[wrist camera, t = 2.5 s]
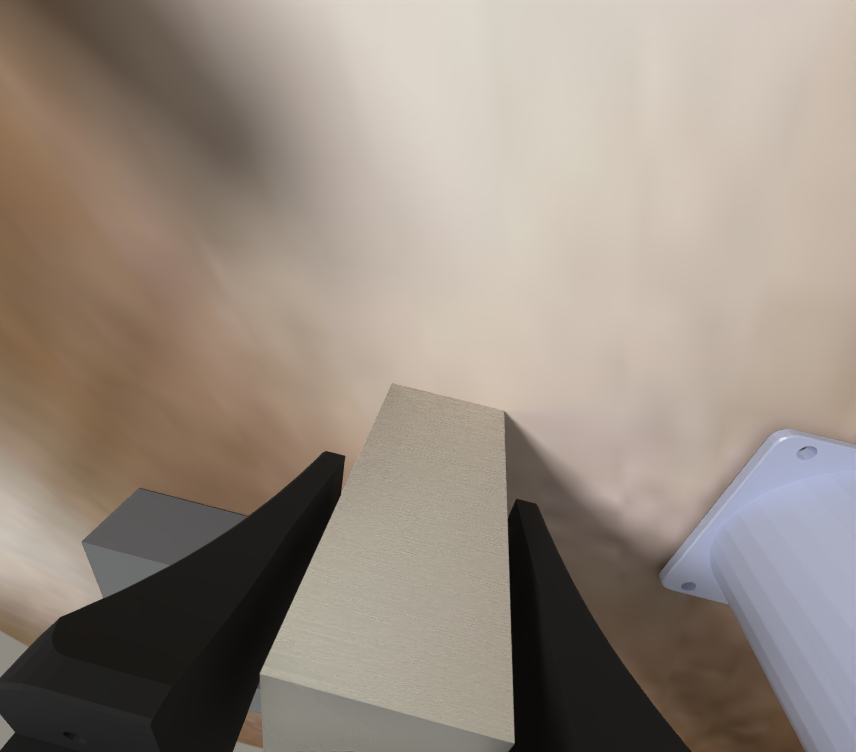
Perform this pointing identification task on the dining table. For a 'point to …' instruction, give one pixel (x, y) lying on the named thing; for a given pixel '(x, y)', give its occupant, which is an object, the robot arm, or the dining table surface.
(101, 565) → the frame
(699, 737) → the dining table surface
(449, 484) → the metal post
